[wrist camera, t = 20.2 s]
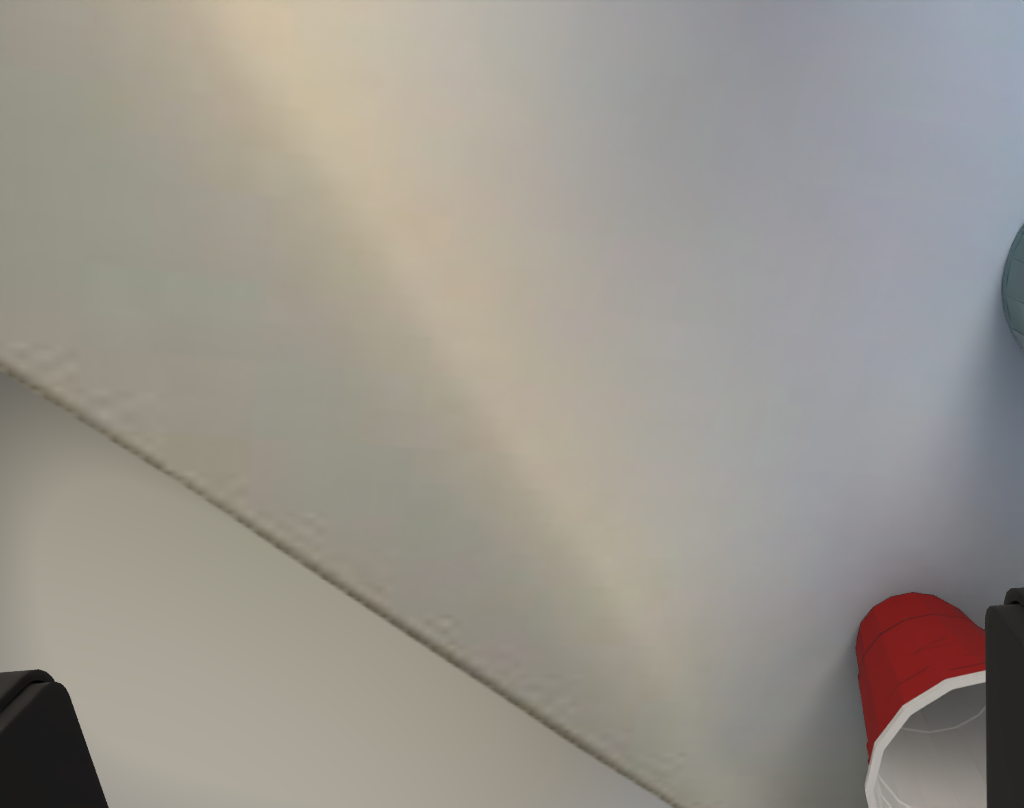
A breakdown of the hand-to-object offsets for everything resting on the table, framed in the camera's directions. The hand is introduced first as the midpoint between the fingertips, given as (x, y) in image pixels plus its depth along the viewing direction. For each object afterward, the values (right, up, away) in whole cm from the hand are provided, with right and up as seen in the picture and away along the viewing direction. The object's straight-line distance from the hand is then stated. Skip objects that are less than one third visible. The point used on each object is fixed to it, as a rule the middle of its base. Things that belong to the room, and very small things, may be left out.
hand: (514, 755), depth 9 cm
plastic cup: (+22, -9, +41) cm, 48 cm away
